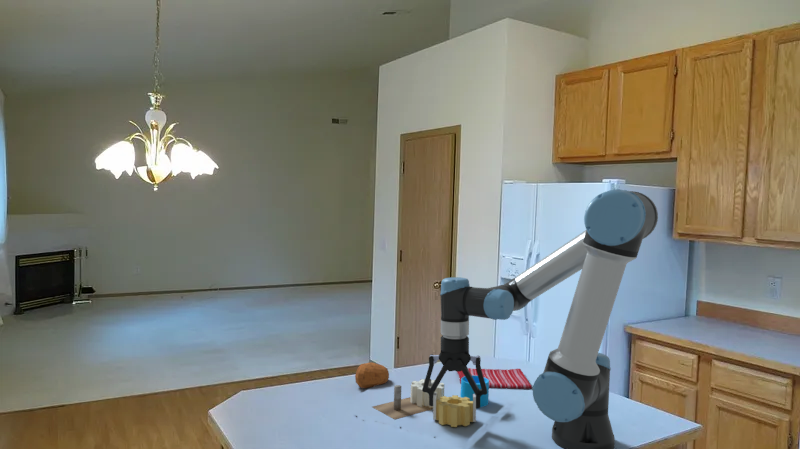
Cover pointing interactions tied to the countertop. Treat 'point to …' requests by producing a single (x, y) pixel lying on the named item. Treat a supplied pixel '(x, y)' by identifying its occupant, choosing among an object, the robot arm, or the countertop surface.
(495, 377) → the dish towel
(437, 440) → the countertop surface
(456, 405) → the ochre gear
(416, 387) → the cream gear
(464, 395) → the mug
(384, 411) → the walnut board
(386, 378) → the potato
